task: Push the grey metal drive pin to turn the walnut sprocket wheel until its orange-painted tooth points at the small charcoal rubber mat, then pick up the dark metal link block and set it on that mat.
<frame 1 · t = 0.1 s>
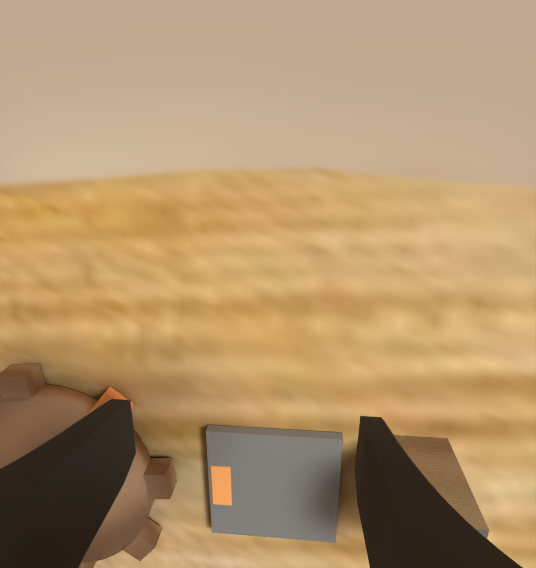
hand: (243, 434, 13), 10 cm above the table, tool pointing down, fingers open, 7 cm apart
sprocket wheel: (32, 504, 25), point 3 cm above the table, hinge at 50.0°
mat: (273, 481, 26), on the table
link block: (407, 463, 25), on the table
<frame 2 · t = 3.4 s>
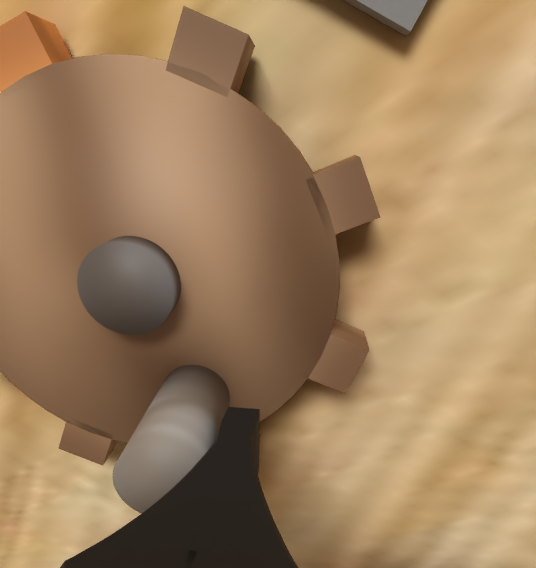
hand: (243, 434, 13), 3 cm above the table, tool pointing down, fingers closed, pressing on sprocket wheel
sprocket wheel: (117, 296, 12), point 3 cm above the table, hinge at 49.8°, touching gripper
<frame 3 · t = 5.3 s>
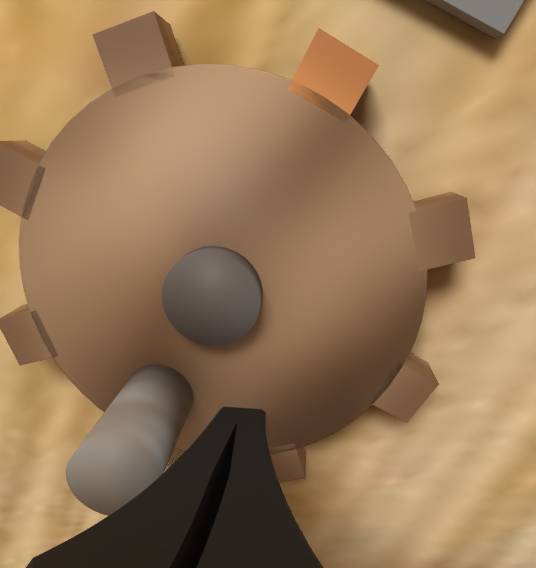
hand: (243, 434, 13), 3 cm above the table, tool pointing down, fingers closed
sprocket wheel: (206, 307, 12), point 3 cm above the table, hinge at -3.0°
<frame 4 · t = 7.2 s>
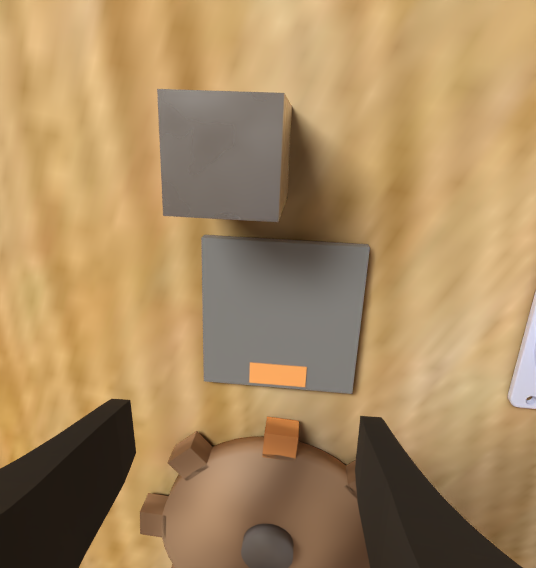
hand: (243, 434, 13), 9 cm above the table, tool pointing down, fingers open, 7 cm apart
sprocket wheel: (266, 563, 24), point 3 cm above the table, hinge at -3.0°
mat: (281, 314, 22), on the table
link block: (246, 151, 19), on the table
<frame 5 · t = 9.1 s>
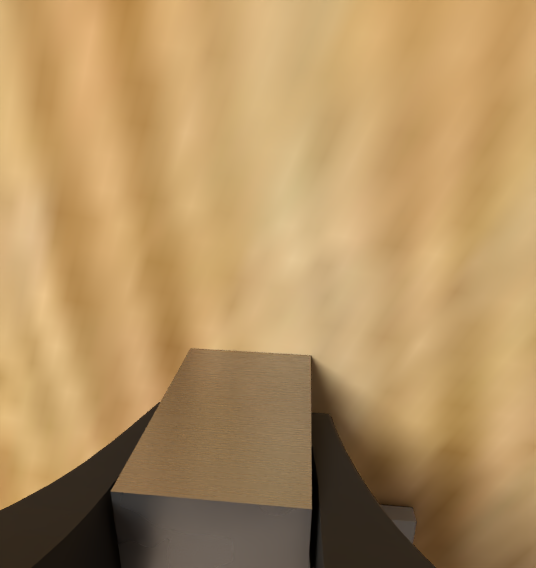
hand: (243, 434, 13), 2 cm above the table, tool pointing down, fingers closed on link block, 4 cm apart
link block: (249, 403, 15), on the table, touching gripper
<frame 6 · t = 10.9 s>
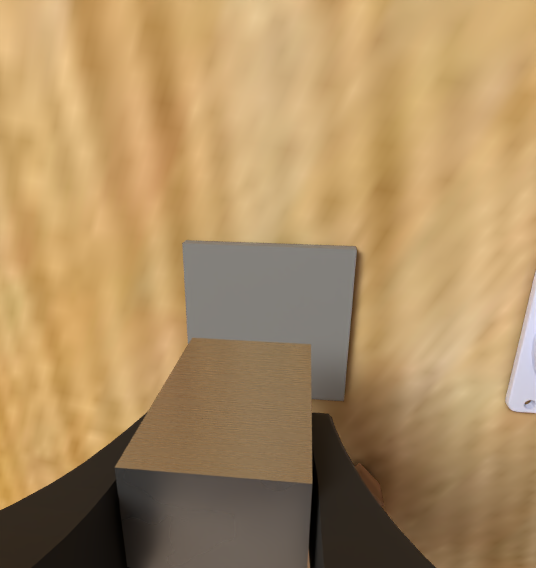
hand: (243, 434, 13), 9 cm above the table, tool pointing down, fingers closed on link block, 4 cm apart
mat: (268, 321, 21), on the table
link block: (250, 392, 15), point 7 cm above the table, touching gripper
when the fingers open (3 cm above the table, at t = 12.6 s): link block stays where it is, resting on mat.
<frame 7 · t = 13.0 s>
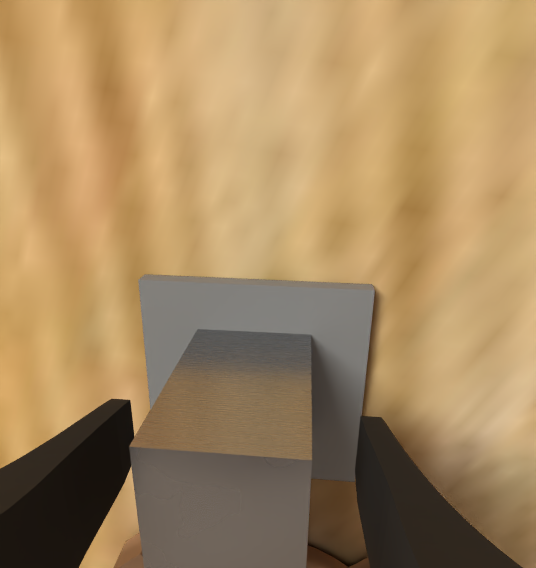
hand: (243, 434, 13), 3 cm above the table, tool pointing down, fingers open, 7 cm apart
mat: (255, 378, 16), on the table
link block: (253, 381, 15), point 1 cm above the table, touching mat
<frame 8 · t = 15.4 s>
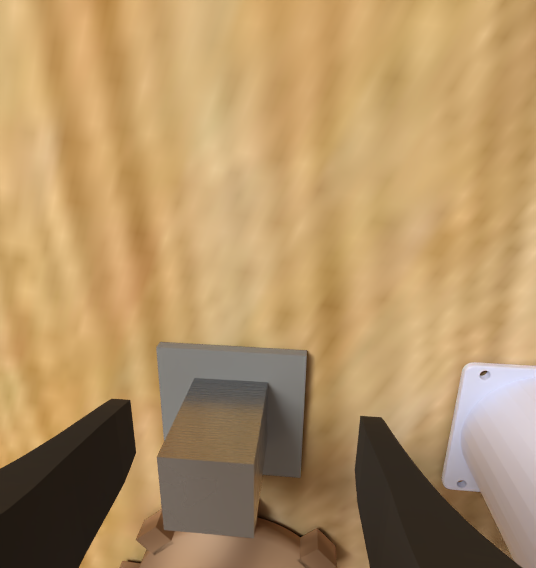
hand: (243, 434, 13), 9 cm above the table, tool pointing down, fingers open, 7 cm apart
mat: (233, 408, 24), on the table
link block: (231, 411, 23), point 1 cm above the table, touching mat
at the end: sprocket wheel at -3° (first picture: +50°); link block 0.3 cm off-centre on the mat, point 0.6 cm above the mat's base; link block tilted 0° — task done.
